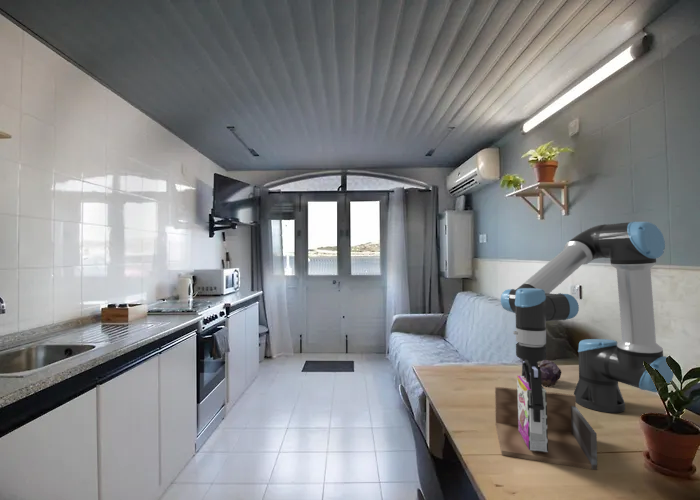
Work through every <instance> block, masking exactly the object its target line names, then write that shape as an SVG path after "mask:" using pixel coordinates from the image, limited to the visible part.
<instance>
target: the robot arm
mask: <svg viewBox="0 0 700 500" xmlns="http://www.w3.org/2000/svg"><path fill="white" fill-rule="evenodd" d="M665 242H666V241H665V238H664V235H663V232H662V231H661V230H660V228H659V227H658V226H657V225H656V224H655V223H652V222H650V221H629V222H618V223H610V224H609V223H607V224H605V223H604V224H599V225H596V226H592V227H590V228H587V229H585V230H584V231H581V233H579V234H577V235H576V236H574V237H572V238H571V239H570V240H568V241H567V242H566V243H565V245H564V247H563V250H562V251H561V252H559V253H558V254H556V256H554V257H553V258H552V259H551V260H549V261H548V262H547V263H546V264H545V265H543V266H542V267H541V268H540V269H539V270H538V271H537V272H535V273H534V274H533V275H531V276H530V277H529V278H528V279H527V280H526V281H525V282H524V283H522V284H521V285H520V286H518V287H517V288H516V289H515V288H512V289H511V288H509V289H505V290H504V291H503V292H502V294H501V295H500V304H501V307H502V308H503V309H504V310H505V311H506V312H509V313H513V314H514V315H515V330H514V331H513V335H515V341H516V342H517V343H516V344H515V355H516V357H517V358H519V359H521V361H522V362H521V363H522V364H521V376H524V378H526V381H527V382H528V383H529V388H530V389H531V393H530V401H531V405H529V406H528V408H530V432H531V433H537V434H542V410H544V405H543V393H542V387H543V385H542V382H541V369H540V367H539V364H538V362H541V361H543V360H547V346H546V345H547V329H546V326H547V325H546V324H547V322H553V321H555V322H556V321H566V320H569V319H571V320H572V319H573V318H575V317H577V315H578V313H579V310H580V307H579V303H578V300H577V299H576V298H575V297H574V296H573V295H571V294H570V293H561V292H560V293H551V292H553V291H554V290H555V289H556V288H557V287H558V286H560V285H561V284H562V283H563V282H564V281H565V280H566V279H568V278H569V277H570V276H571V275H572V274H573V273H575V271H577V270H578V269H579V268H580V267H581V266H582V265H588V264H590V263H591V262H592V261H593V260H596V259H610V265H611V266H612V267H614V268H615V269H616V277H617V280H616V281H617V290H618V303H619V304H618V305H619V317H620V330H621V331H620V332H621V340H620V341H619V342H618V341H617V340H614V339H606V338H605V339H604V338H591V339H590V338H589V339H588V338H587V339H581V340H580V341H579V343H578V349H577V352H578V381H577V384H576V387H575V389H574V391H573V395H575V396H576V404H578V405H580V406H582V407H584V408H587V409H590V410H594V411H596V412H603V413H611V414H612V413H614V414H615V413H617V414H618V413H622V412H624V411H625V410H626V402H625V400H624V397H623V394H622V392H621V389H620V387H619V383H621V384H625V385H628V386H631V387H634V388H638V389H639V390H641V391H649V392H653V393H658V392H657V390H656V387H655V385H654V383H653V381H652V379H651V377H650V375H649V374H648V372H647V371H646V369H645V367H644V365H643V361H645V362H646V363H647V364H649V365H650V366H651V367H652V368H654V369H656V370H658V371H659V373H660V374H661V375H662V376H663V377H664V379H665V380H666V382H667V383H670V381H671V382H672V380H673V378H674V375H675V373H674V374H673V372H672V371H671V369H670V367H669V366H668V365H667V363H666V358H667V356H666V355H665V356H664V350H663V347H662V346H661V345H660V344H658V343H657V338H656V325H655V324H656V323H655V314H654V313H655V312H654V310H655V309H654V300H653V298H654V297H653V296H654V295H653V285H652V284H653V283H652V270H651V269H652V267H653V266H655V265H656V264H657V259H659V258H661V257H662V256H663V254H664V250H665V249H666V243H665ZM670 384H671V383H670Z"/></svg>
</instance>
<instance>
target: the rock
mask: <svg viewBox="0 0 700 500" xmlns="http://www.w3.org/2000/svg"><path fill="white" fill-rule="evenodd" d="M538 367H540V369H541V382H542V387H551V386H552V385H555V384H557V381H559V380H560V379H561V375H562V370H561V368H560V367H559V366H558V365H557V363H555V362H553V361H550V360H549V359H545V360H543V361H540V363H539V364H538Z"/></svg>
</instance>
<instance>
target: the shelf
mask: <svg viewBox="0 0 700 500" xmlns="http://www.w3.org/2000/svg"><path fill="white" fill-rule="evenodd" d="M494 390H495V391H494V393H495V394H494V395H495V396H494V397H495V398H494V399H495V405H494V406H495V412H494V413H495V414H494V415H495V428H496V434H497V439H498V443H499V447H500V453H501V456H503V457H504V456H506V457H512V458H519V459H525V460H530V461H537V462H543V463H550V464H554V465H555V464H556V465H562V466H569V467H575V468H581V469H588V470H594V471H597V470H598V444H597V440H598V439H597V438H598V437H597V434H598V433H597V432H596V431H595V430H594V428H593V427H592V426H591V424H590V423H589V422H588V421H587V419H586V418H585V417H584V415H583V414H582V412H581V411H580V410H579V409H578V407H577V406H576V404H577V403H576V396H575V395H574V394H570V393H560V392H551V391H550V392H549V391H546V398H547V399H546V401H547V433H548V452H537V451H530V450H529V449H528V447H527V445H526V443H525V441H524V440H523V438H522V436H521V434H520V432H519V431H518V395H517V388H513V387H502V386H494Z"/></svg>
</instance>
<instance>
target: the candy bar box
mask: <svg viewBox="0 0 700 500" xmlns="http://www.w3.org/2000/svg"><path fill="white" fill-rule="evenodd" d="M516 386H517V387H516V389H517V395H518V431H519V432H520V434H521V436H522V438H523V440H524V441H525V443H526V445H527V447H528V449H529V450H530V451H537V452H548V433H547V401H546V399H547V398H546V392H547V390H546V389H545V388H544V386H542V393H543V405H544V410H542V434H537V433H531V432H530V408H528V406H529V405H531V401H530V393H531V389H530V388H529V383H528V382H527V381H526V378H524V376H522V375H516Z"/></svg>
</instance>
